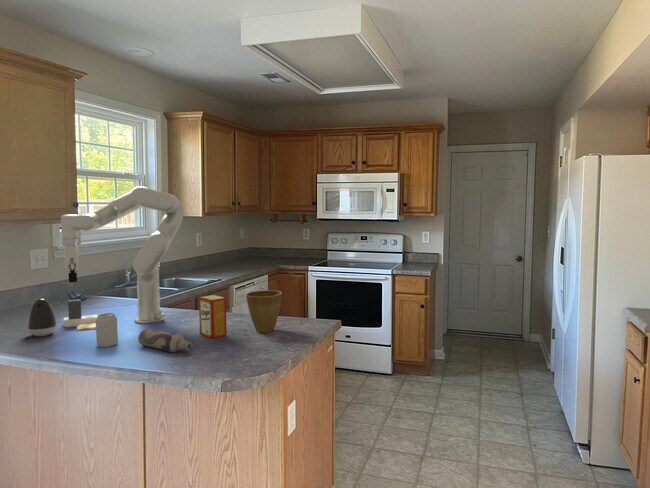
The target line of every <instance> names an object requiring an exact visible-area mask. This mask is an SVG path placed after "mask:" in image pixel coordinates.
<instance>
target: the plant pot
mask: <svg viewBox="0 0 650 488" xmlns="http://www.w3.org/2000/svg"><path fill="white" fill-rule="evenodd" d="M245 297H246V302H247V308H248V313H249V315H250V318H251V321H252V324H253V326H254V329H255V331H256V333H264V334H265V333H271V332H274V330H275V328H276V325H277V322H278V318H279V313H280V308H281V303H282V291H279V290H271V289H270V290H269V289H268V290H255V291H250V292H247V293H246V294H245Z"/></svg>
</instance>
